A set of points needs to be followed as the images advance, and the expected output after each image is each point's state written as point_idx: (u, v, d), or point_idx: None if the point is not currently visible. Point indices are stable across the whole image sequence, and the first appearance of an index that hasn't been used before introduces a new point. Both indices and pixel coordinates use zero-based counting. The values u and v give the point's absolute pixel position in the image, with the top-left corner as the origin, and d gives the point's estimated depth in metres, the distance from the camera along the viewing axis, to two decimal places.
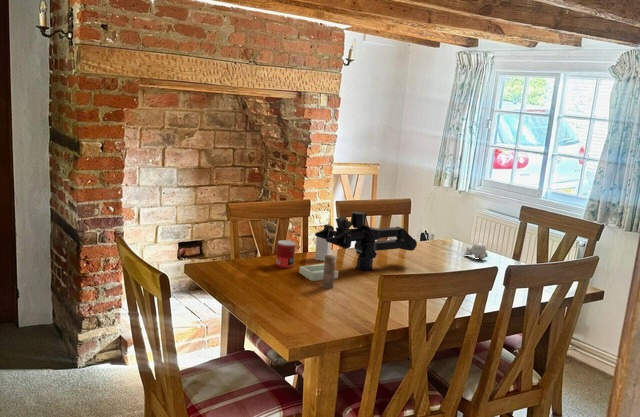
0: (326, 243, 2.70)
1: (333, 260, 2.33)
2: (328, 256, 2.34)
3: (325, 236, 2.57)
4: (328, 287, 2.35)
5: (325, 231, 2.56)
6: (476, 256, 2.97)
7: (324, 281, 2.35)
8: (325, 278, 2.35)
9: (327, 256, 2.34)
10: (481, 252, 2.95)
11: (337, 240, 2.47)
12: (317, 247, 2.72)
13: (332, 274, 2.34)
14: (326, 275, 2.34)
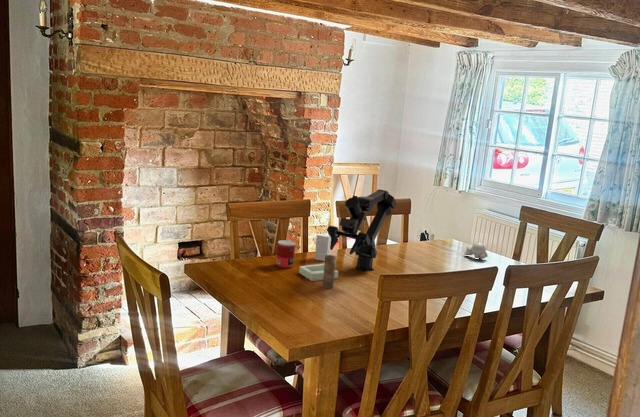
0: (326, 243, 2.70)
1: (333, 260, 2.33)
2: (328, 256, 2.34)
3: (336, 240, 2.47)
4: (328, 287, 2.35)
5: (334, 237, 2.46)
6: (476, 256, 2.97)
7: (324, 281, 2.35)
8: (325, 278, 2.35)
9: (327, 256, 2.34)
10: (481, 252, 2.95)
11: (357, 245, 2.41)
12: (317, 247, 2.72)
13: (332, 274, 2.34)
14: (326, 275, 2.34)
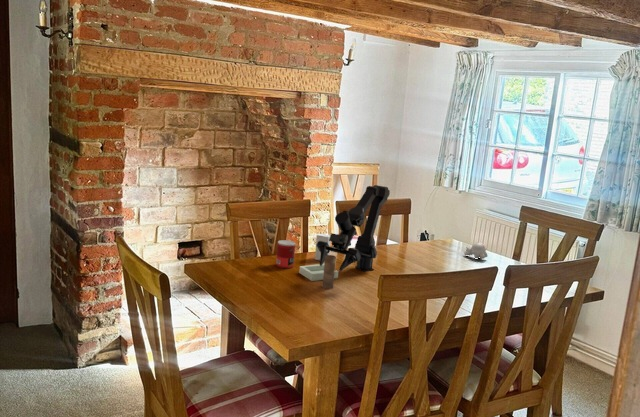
0: None
1: (333, 260, 2.33)
2: (328, 256, 2.34)
3: None
4: (328, 287, 2.35)
5: (324, 253, 2.40)
6: (476, 256, 2.97)
7: (324, 281, 2.35)
8: (325, 278, 2.35)
9: (327, 256, 2.34)
10: (481, 252, 2.95)
11: (347, 261, 2.35)
12: (317, 247, 2.72)
13: (332, 274, 2.34)
14: (326, 275, 2.34)
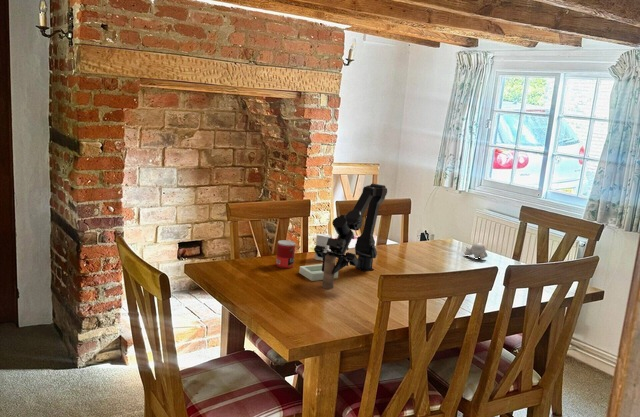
0: (326, 243, 2.70)
1: (333, 260, 2.33)
2: (328, 256, 2.34)
3: None
4: (328, 287, 2.35)
5: None
6: (476, 256, 2.97)
7: (324, 281, 2.35)
8: (325, 278, 2.35)
9: (327, 256, 2.34)
10: (481, 252, 2.95)
11: (340, 264, 2.35)
12: None
13: (332, 274, 2.34)
14: (326, 275, 2.34)
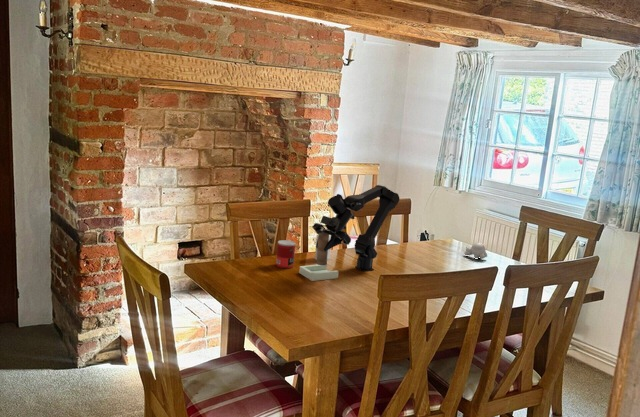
0: None
1: (325, 237, 2.40)
2: (321, 233, 2.42)
3: None
4: (320, 263, 2.43)
5: None
6: (476, 256, 2.97)
7: (317, 257, 2.43)
8: (318, 254, 2.43)
9: (320, 233, 2.42)
10: (481, 252, 2.95)
11: (333, 242, 2.42)
12: None
13: (324, 251, 2.42)
14: (318, 252, 2.42)
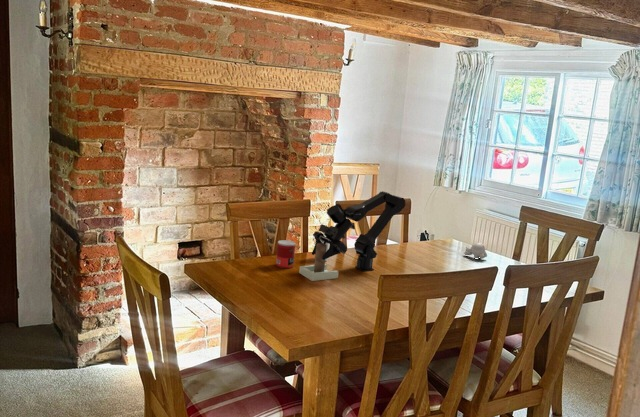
0: (326, 243, 2.70)
1: (322, 248, 2.46)
2: (319, 244, 2.48)
3: None
4: None
5: None
6: (475, 256, 2.97)
7: (314, 267, 2.49)
8: (315, 264, 2.49)
9: (318, 244, 2.48)
10: (480, 252, 2.95)
11: (331, 251, 2.46)
12: None
13: (321, 261, 2.47)
14: (315, 262, 2.48)
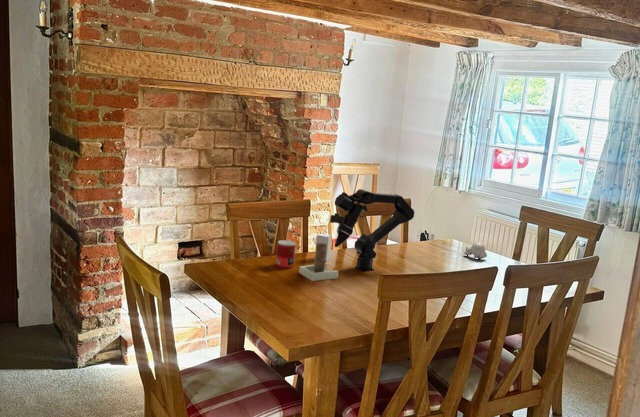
0: (326, 243, 2.70)
1: (322, 248, 2.46)
2: (319, 244, 2.48)
3: None
4: None
5: (339, 235, 2.61)
6: (475, 256, 2.97)
7: (314, 267, 2.49)
8: (315, 264, 2.49)
9: (318, 244, 2.48)
10: (480, 252, 2.96)
11: (342, 236, 2.50)
12: None
13: (321, 261, 2.47)
14: (315, 262, 2.48)
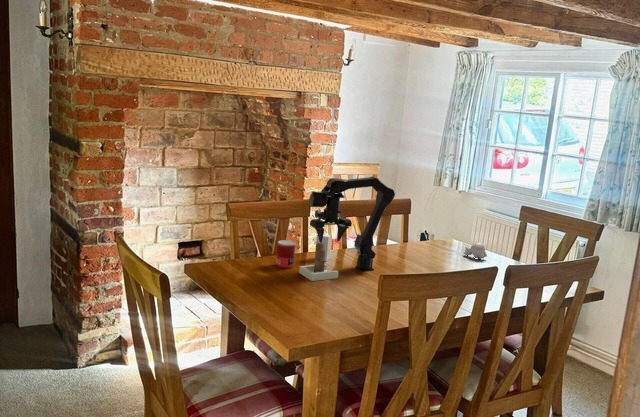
0: (326, 243, 2.70)
1: (321, 248, 2.46)
2: (319, 244, 2.49)
3: (341, 229, 2.58)
4: None
5: (338, 228, 2.60)
6: (475, 256, 2.97)
7: (314, 267, 2.49)
8: (315, 264, 2.49)
9: (318, 244, 2.49)
10: (480, 252, 2.96)
11: (319, 231, 2.53)
12: None
13: (321, 261, 2.47)
14: (315, 262, 2.48)
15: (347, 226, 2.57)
